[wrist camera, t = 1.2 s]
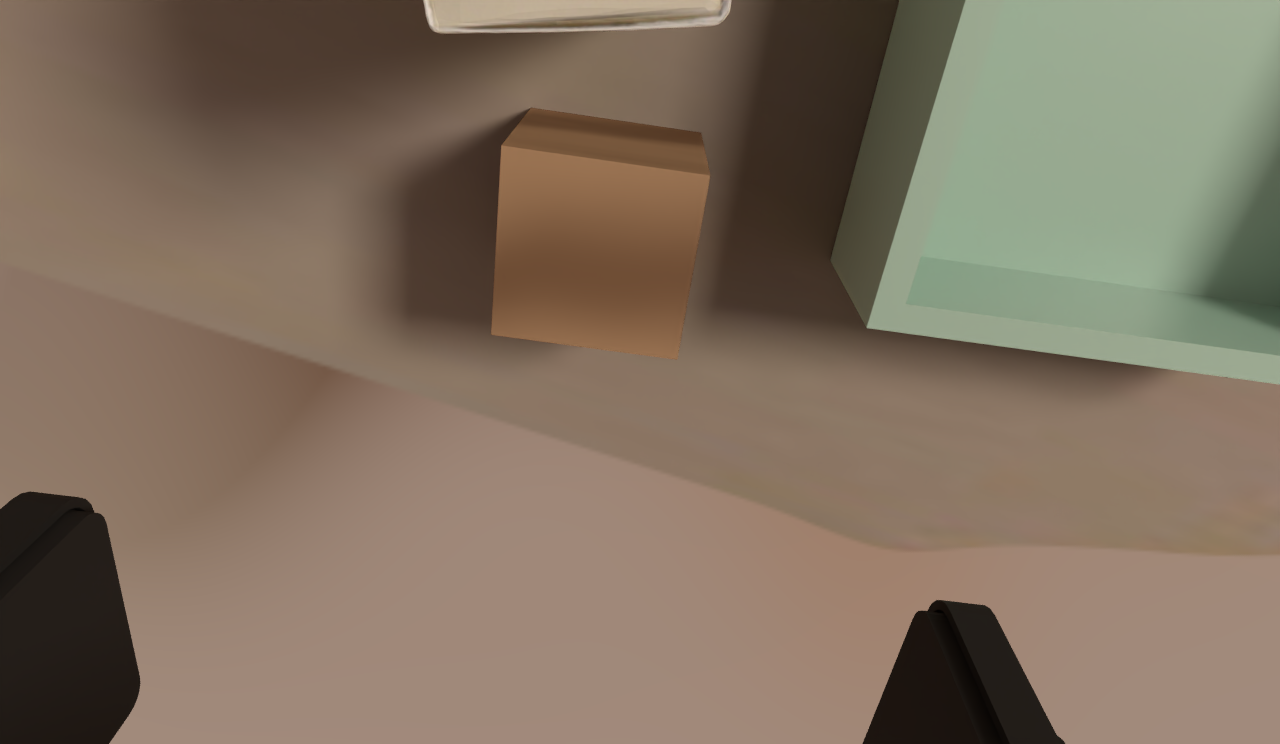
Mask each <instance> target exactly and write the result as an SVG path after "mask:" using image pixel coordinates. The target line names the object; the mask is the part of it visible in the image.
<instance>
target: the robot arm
mask: <svg viewBox="0 0 1280 744" xmlns="http://www.w3.org/2000/svg"><path fill="white" fill-rule="evenodd" d="M139 689H140V676H139V671H138V666H137V662H136V658H135V653H134V648H133V644H132V639H131V634H130V630H129V625H128V620H127V616H126V611H125V607H124V602H123V598H122V593H121V588H120V584H119V579H118V574H117V570H116V565H115V561H114V556H113V551H112V547H111V542H110V538H109V533H108V528H107V524H106V521H105V519H104V517H103V516H102V515H101V514H99V513H94V510H93V508H92V505H91V504H90V503H89V502H88V501H87V500H86V499H83V498H79V497H71V496H62V495H54V494H46V493H38V492H26V493H22V494H20V495H18V496H17V497H15V498H13V499H12V500H11V501H9V502H8V503H7V504H6V505H5V506H4V507H2V508H1V509H0V744H109V743H110V741H111V740H112V738H113V737H114V736H115V734H116V733H117V731H118V730H119V729H120V727H121V726H122V724H123V723H124V721H125V720H126V718H127V717H128V716H129V714H130V712H131V711H132V709H133V707H134V705H135V703H136V700H137V697H138V694H139ZM863 744H1065V743H1064V741H1063V740H1062V739H1061V738H1060V737H1058V736H1057V735H1056V733H1055V731H1054V729H1053V727H1052V726H1051V723H1050V721H1049V720H1048V718H1047V716H1046V714H1045V712H1044V710H1043V708H1042V706H1041V704H1040V702H1039V700H1038V698H1037V696H1036V694H1035V692H1034V690H1033V688H1032V687H1031V685H1030V683H1029V681H1028V679H1027V677H1026V675H1025V673H1024V671H1023V669H1022V667H1021V665H1020V664H1019V661H1018V659H1017V658H1016V655H1015V654H1014V652H1013V650H1012V648H1011V646H1010V644H1009V642H1008V640H1007V638H1006V636H1005V634H1004V632H1003V630H1002V628H1001V626H1000V624H999V623H998V620H997V619H996V617H995V615H994V614H993V612H992V611H991V609H990V608H988V607H986V606H985V605H977V604H968V603H960V602H951V601H943V600H936V601H935V602H933V603H932V604H931V606H930V607H929V609H928V611H918V612H917V613H916V614H915V616H914V618H913V620H912V622H911V625H910V627H909V630H908V632H907V635H906V637H905V640H904V642H903V645H902V647H901V649H900V652H899V655H898V657H897V660H896V662H895V664H894V667H893V669H892V672H891V675H890V677H889V680H888V682H887V685H886V687H885V689H884V692H883V694H882V697H881V700H880V702H879V705H878V707H877V709H876V712H875V714H874V717H873V719H872V722H871V724H870V727H869V729H868V732H867V734H866V737H865V739H864V742H863Z"/></svg>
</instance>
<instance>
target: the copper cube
mask: <svg viewBox="0 0 1280 744" xmlns="http://www.w3.org/2000/svg"><path fill="white" fill-rule="evenodd" d="M709 181H710V171H709V167H708V162H707V158H706V153H705V149H704V144H703V140H702V135H701V133H700V132H693V131H686V130H679V129H673V128H666V127H659V126H652V125H645V124H639V123H632V122H625V121H618V120H611V119H604V118H598V117H591V116H584V115H577V114H570V113H564V112H557V111H550V110H543V109H536V108H530V110H529V111H528V112H527V113H526V115H525V116H524V117H523V119H522V120H521V121H520V122H519V124H518V125H517V126H516V127H515V129H514V130H513V131H512V133H511V134H510V135H509V136H508V138H507V139H506V140H505V141H504V143H503V144H502V145H501V161H500V180H499V198H498V216H497V235H496V253H495V271H494V290H493V308H492V326H491V335H496V336H504V337H511V338H519V339H526V340H534V341H541V342H549V343H556V344H564V345H571V346H579V347H586V348H594V349H601V350H609V351H617V352H624V353H632V354H639V355H647V356H654V357H662V358H669V359H677V357H678V352H679V346H680V341H681V335H682V330H683V324H684V319H685V313H686V308H687V302H688V297H689V291H690V286H691V280H692V275H693V269H694V264H695V258H696V253H697V247H698V242H699V236H700V230H701V225H702V219H703V214H704V208H705V203H706V197H707V192H708V186H709Z"/></svg>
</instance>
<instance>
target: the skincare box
mask: <svg viewBox="0 0 1280 744" xmlns="http://www.w3.org/2000/svg"><path fill="white" fill-rule="evenodd" d="M731 1H732V0H423V2H424V8H425V14H426V18H427V22H428V25H429V27H430V28H431V30H432V31H434V32H436V33H439V34H463V33H552V32H597V31H625V30H648V29H671V28H687V27H705V26H714V25H718V24H720V23H721V22H723V21H724V19H725V18H726V17H727V15H728V14H729V13H730V8H731Z"/></svg>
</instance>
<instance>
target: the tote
mask: <svg viewBox="0 0 1280 744" xmlns="http://www.w3.org/2000/svg"><path fill="white" fill-rule="evenodd" d="M830 261H831V263H832V265H833V267H834V269H835V271H836V272H837V274H838V276H839V278H840V280H841V282H842V284H843V285H844V287H845V289H846V291H847V293H848V295H849V296H850V298H851V300H852V302H853V304H854V306H855V308H856V309H857V311H858V313H859V315H860V317H861V319H862V320H863V322H864V324H865V326H866V328H870V329H878V330H885V331H892V332H900V333H907V334H914V335H922V336H929V337H936V338H943V339H951V340H958V341H965V342H973V343H980V344H987V345H995V346H1002V347H1009V348H1017V349H1024V350H1031V351H1039V352H1046V353H1053V354H1061V355H1068V356H1075V357H1083V358H1090V359H1097V360H1105V361H1112V362H1119V363H1127V364H1134V365H1141V366H1149V367H1156V368H1163V369H1171V370H1178V371H1185V372H1193V373H1200V374H1207V375H1214V376H1222V377H1229V378H1236V379H1244V380H1251V381H1258V382H1266V383H1273V384H1280V0H899V4H898V8H897V11H896V15H895V19H894V23H893V27H892V30H891V34H890V38H889V42H888V45H887V49H886V53H885V57H884V60H883V64H882V68H881V72H880V75H879V79H878V83H877V87H876V90H875V94H874V98H873V102H872V105H871V109H870V113H869V117H868V120H867V124H866V128H865V132H864V135H863V139H862V143H861V147H860V151H859V154H858V158H857V162H856V166H855V169H854V173H853V177H852V181H851V184H850V188H849V192H848V196H847V199H846V203H845V207H844V211H843V214H842V218H841V222H840V226H839V229H838V233H837V237H836V241H835V244H834V248H833V252H832V256H831V259H830Z"/></svg>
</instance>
